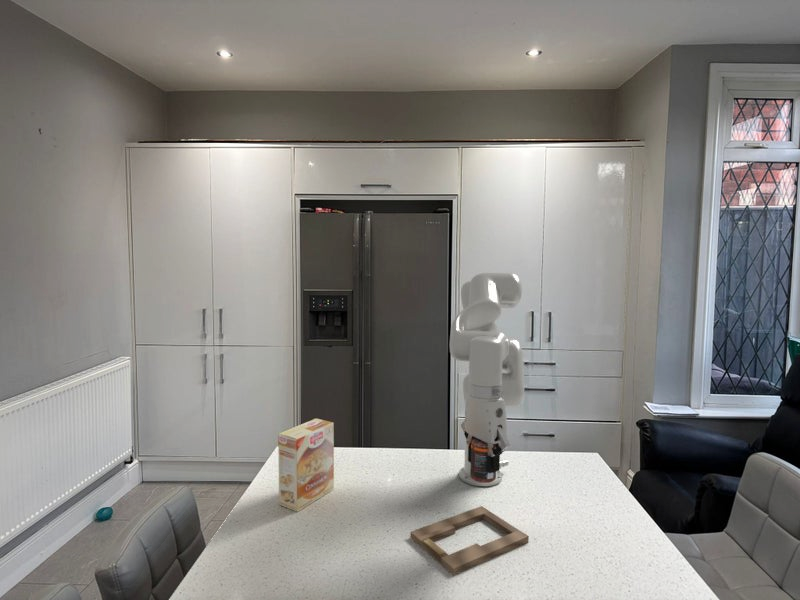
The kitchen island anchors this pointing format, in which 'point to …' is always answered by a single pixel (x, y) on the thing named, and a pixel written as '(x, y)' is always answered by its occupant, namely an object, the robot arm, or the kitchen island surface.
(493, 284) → the robot arm
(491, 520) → the wooden frame
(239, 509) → the kitchen island surface
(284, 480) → the coffeecake box
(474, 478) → the supplement bottle
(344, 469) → the kitchen island surface
